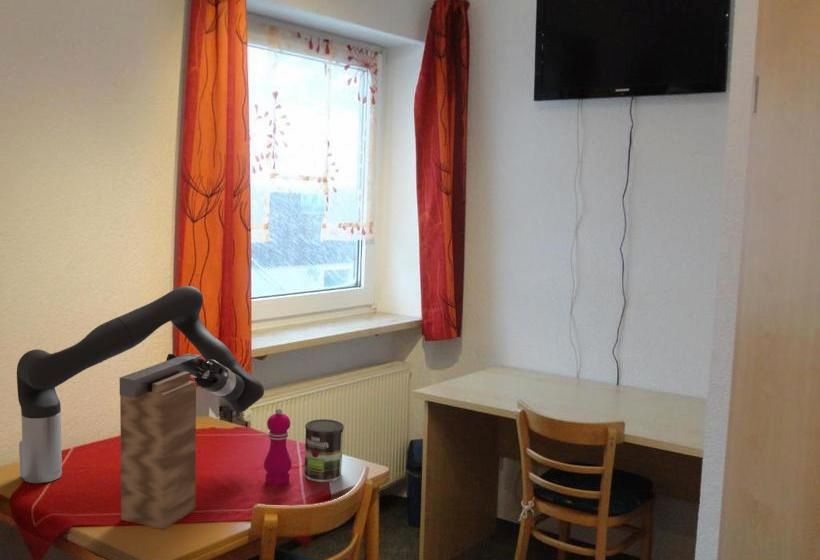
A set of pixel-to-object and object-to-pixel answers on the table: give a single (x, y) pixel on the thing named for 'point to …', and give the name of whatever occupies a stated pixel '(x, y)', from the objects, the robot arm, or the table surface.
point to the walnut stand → (159, 453)
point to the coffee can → (323, 450)
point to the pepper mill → (278, 450)
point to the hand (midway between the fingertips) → (183, 359)
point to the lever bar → (157, 375)
